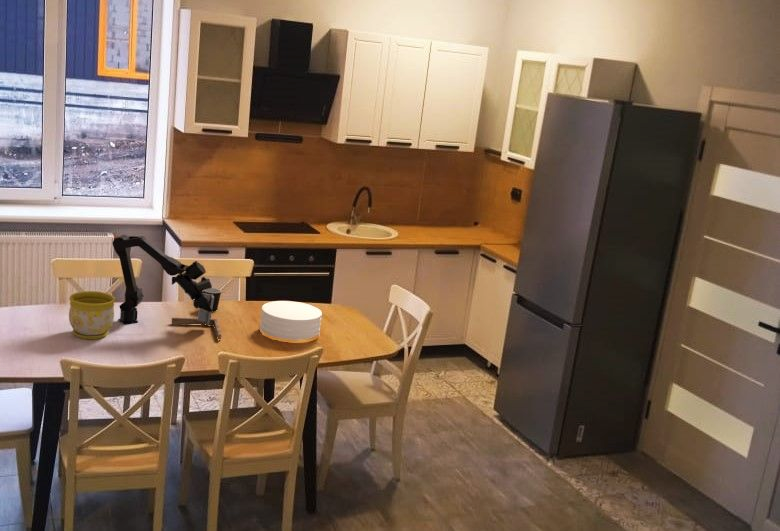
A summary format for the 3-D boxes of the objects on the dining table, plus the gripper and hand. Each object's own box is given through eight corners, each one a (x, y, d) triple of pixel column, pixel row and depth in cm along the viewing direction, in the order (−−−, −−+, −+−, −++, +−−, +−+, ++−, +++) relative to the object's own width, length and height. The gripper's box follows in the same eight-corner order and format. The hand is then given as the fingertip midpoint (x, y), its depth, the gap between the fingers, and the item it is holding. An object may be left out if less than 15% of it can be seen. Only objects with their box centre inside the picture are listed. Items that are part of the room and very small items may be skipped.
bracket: (209, 325, 359) (214, 297, 356) (198, 323, 357) (203, 296, 354) (208, 321, 363) (213, 294, 361) (197, 320, 362) (202, 293, 359)
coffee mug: (217, 313, 385) (219, 294, 383) (199, 311, 385) (201, 291, 383) (222, 306, 397) (224, 287, 394) (205, 304, 397) (207, 285, 394)
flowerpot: (59, 337, 329) (60, 299, 325) (81, 324, 346) (83, 288, 342) (100, 344, 327) (102, 306, 323) (120, 331, 344) (122, 295, 340)
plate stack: (247, 331, 367) (249, 308, 364) (282, 319, 392) (284, 297, 389) (297, 348, 355) (300, 324, 352) (330, 334, 380) (333, 311, 377)
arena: (220, 340, 350) (221, 334, 350) (173, 339, 344) (174, 333, 343) (216, 325, 369) (216, 319, 368) (171, 323, 363) (172, 317, 362)
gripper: (203, 279, 345) (227, 304, 352) (200, 267, 363) (222, 292, 369) (183, 295, 345) (207, 320, 351) (181, 283, 362) (203, 307, 368)
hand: (210, 309), depth 360 cm, fingers closed on bracket, 5 cm apart
